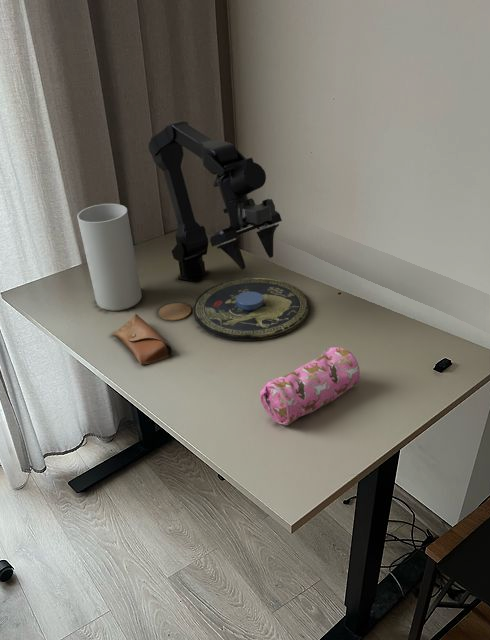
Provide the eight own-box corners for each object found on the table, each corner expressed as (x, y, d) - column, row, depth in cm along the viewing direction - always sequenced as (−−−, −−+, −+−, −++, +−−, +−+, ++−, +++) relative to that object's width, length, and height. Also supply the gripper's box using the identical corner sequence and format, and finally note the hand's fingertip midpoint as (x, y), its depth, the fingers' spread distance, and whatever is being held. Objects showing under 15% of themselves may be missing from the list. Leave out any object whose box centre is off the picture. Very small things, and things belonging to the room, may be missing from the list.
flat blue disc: (231, 310, 154) (231, 302, 152) (242, 297, 159) (242, 289, 157) (257, 315, 151) (257, 306, 150) (267, 301, 156) (267, 293, 155)
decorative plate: (168, 314, 154) (237, 267, 173) (169, 321, 155) (237, 273, 174) (266, 349, 139) (330, 293, 157) (266, 355, 140) (329, 300, 158)
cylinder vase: (105, 289, 172) (87, 203, 157) (147, 289, 170) (132, 203, 155) (90, 311, 162) (69, 222, 147) (135, 312, 160) (118, 222, 145)
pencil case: (329, 371, 133) (331, 337, 128) (362, 390, 127) (365, 355, 122) (256, 414, 123) (255, 379, 118) (287, 436, 117) (287, 401, 112)
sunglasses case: (109, 333, 151) (118, 309, 149) (133, 337, 156) (142, 314, 154) (141, 366, 139) (150, 340, 137) (166, 369, 143) (175, 344, 141)
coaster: (152, 317, 157) (152, 316, 157) (168, 302, 163) (168, 300, 163) (181, 323, 154) (181, 321, 154) (196, 307, 160) (196, 305, 160)
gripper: (225, 200, 130) (249, 268, 134) (285, 180, 140) (306, 245, 143) (198, 213, 140) (221, 277, 143) (256, 193, 149) (277, 254, 153)
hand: (257, 263), depth 145 cm, fingers open, 9 cm apart
